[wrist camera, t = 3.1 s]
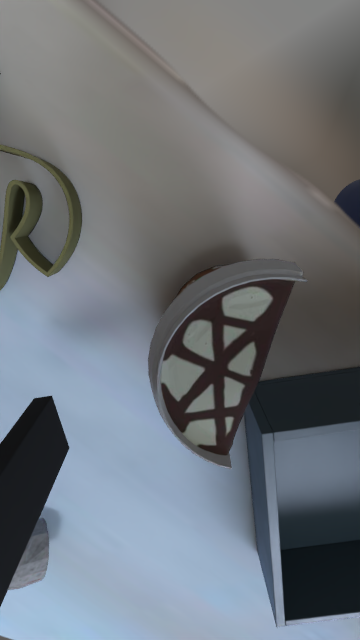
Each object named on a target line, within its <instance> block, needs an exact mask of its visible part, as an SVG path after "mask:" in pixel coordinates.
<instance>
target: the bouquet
mask: <svg viewBox="0 0 360 640" xmlns="http://www.w3.org/2000/svg"><path fill="white" fill-rule="evenodd" d="M48 558H49V538H48V530H47V525H46V522H45V520H44V519H43V518H39V519H38V521H37V523H36V526H35V528H34V530H33V533H32V535H31V537H30V540H29V542H28V544H27V546H26V549H25V551H24V553H23V556H22V558H21V560H20V563H19V565H18V567H17V569H16V572H15V574H14V576H13V579H12V581H11V583H10V586H9V588H8V590H11V589H19V588H22V587H25V586H28V585H30V584H33V583H36V582H38V581H41V580H42V579H43V578H44V577H45V574H46V570H47V565H48Z"/></svg>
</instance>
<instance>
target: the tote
mask: <svg viewBox="0 0 360 640" xmlns="http://www.w3.org/2000/svg"><path fill="white" fill-rule="evenodd" d="M244 418H245V428H246V438H247V448H248V458H249V469H250V479H251V489H252V499H253V509H254V520H255V530H256V540H257V550H258V555H259V559H260V563H261V567H262V571H263V575H264V579H265V583H266V587H267V591H268V595H269V599H270V603H271V607H272V611H273V615H274V619H275V623H276V627H283V626H285V625H286V626H290V625H298V624H306V623H315V622H323V621H331V620H339V619H348V618H356V617H360V367H357V368H350V369H343V370H336V371H329V372H322V373H315V374H308V375H301V376H294V377H287V378H281V379H274V380H267V381H260V382H258V384H257V386H256V389H255V391H254V393H253V395H252V397H251V399H250V401H249V403H248V405H247V407H246V409H245V412H244Z"/></svg>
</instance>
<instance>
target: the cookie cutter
mask: <svg viewBox="0 0 360 640" xmlns="http://www.w3.org/2000/svg"><path fill="white" fill-rule="evenodd" d="M0 74H1V73H0ZM0 151H3V152H6V153H10V154H13V155H17V156H21V157H24V158H28V159H31V160H33V161H35V162H37V163H39V164H40V165H42V166H43V167H44V168H46V169H47V170H48V171H49V172H50V173H51V174H52V175H53V176H54V177H55V178H56V180H57V181H58V182H59V184H60V186H61V187H62V189H63V191H64V194H65V196H66V199H67V203H68V207H69V217H70V219H69V231H68V236H67V240H66V243H65V246H64V248H63V250H62V252H61V254H60V256H59V258H58V259H57V261H56V262H55V264H54V265H53V264H51V263H50V262H49V261H48V260H47V259H46V258H45V257H44V256H43V255H42V254H41V253H40V252H39V251H38V250H37V249H36V247H35V246H34V245H33V243H32V242H31V241H30V239H29V237H28V235H29V234H30V233H31V231H32V230H33V228H34V227H35V225H36V223H37V221H38V219H39V217H40V214H41V211H42V196H41V193H40V191H39V190H38V188H37V187H36V186H35V185H33V184H31V183H27V182H23V181H18V180H12V181H11V182H10V183H9V184H8V187H7V191H6V198H5V210H4V222H3V232H2V240H1V247H0V290H1V289H2V288H3V287H4V285H5V284H6V282H7V280H8V278H9V276H10V274H11V271H12V268H13V265H14V262H15V258H16V254H17V249H18V250H19V251H20V253H21V254H22V255H23V256H24V257H25V258H26V259H27V260H28V261H29V262H30V263H31V264H32V265H33V266H34V267H35V268H36V269H38V270H39V271H40V272H41V273H43V274H44V275H46V276H47V277H49V276H51V275H53V274H55V273H57V272H59V271H60V270H61V269H62V268H63V266H64V265H65V264H66V263H67V261H68V260H69V258H70V257H71V255H72V253H73V252H74V250H75V247H76V245H77V243H78V240H79V236H80V232H81V224H82V213H81V206H80V201H79V198H78V195H77V193H76V191H75V189H74V187H73V185H72V184H71V182H70V181H69V179H68V178H67V177H66V176H65V175H64V174H63V173H62V172H61V171H60V170H59V169H57V168H56V167H55V166H53V165H51V164H50V163H48V162H46V161H44V160H42V159H39V158H37V157H35V156H32V155H30V154H28V153H25V152H23V151H20V150H17V149H14V148H11V147H7V146H4V145H0ZM24 195H25V196H26V208H25V212H24V215H23V217H22V211H23V201H24Z"/></svg>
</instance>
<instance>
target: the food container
mask: <svg viewBox="0 0 360 640" xmlns="http://www.w3.org/2000/svg"><path fill="white" fill-rule="evenodd" d="M303 273H304V272H303V271H302V270H301V269H300V268H299V267H298V266H297V264H296V263H295V262H289V261H283V260H277V259H256V260H249V261H242V262H237V263H234V264H230V265H221V266H214V267H211V268H209V269H207V270H205V271H202V272H200V273H198V274H196V275H195V276H194V277H193V278H191V279H190V280H189V281H188V282H187V283H186V284H185V285H184V286H182V288H181V290H180V291H179V293H178V294H177V296H176V298H175V299H174V301H173V302H172V303H171V304H170V306H169V307H168V308H167V310H166V311H165V312H164V314H163V316H162V318H161V319H160V321H159V323H158V325H157V327H156V329H155V332H154V335H153V338H152V341H151V345H150V351H149V358H148V366H149V378H150V383H151V388H152V392H153V395H154V399H155V402H156V405H157V407H158V410H159V412H160V415H161V416H162V418H163V420H164V421H165V423H166V425H167V427H168V428H169V429H170V430H171V432H172V433H173V434H174V435H175V437H176V438H177V439H178V440H179V441H180V442H181V444H183V445H184V446H185V447H186V448H187V449H189V450H190V451H191V452H192V453H194V454H195V455H197V456H199V457H200V458H202V459H204V460H205V461H208V462H210V463H213V464H215V465H217V466H221V467H224V468H228V469H232V466H231V460H230V454H229V451H230V448H231V447H232V444H233V440H234V437H235V434H236V431H237V428H238V426H239V424H240V421H241V419H242V416H243V414H244V412H245V409H246V407H247V405H248V403H249V401H250V399H251V397H252V395H253V393H254V391H255V389H256V386H257V384H258V382H259V380H260V377H261V374H262V371H263V368H264V365H265V362H266V358H267V355H268V352H269V349H270V346H271V343H272V340H273V337H274V334H275V331H276V329H277V326H278V324H279V321H280V318H281V316H282V313H283V311H284V308H285V306H286V303H287V300H288V298H289V295H290V293H291V290H292V288H293V285H294V282H295V281H294V280H297V281H303V282H307V280H306V279H304V278H303V277H302V275H303Z"/></svg>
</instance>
